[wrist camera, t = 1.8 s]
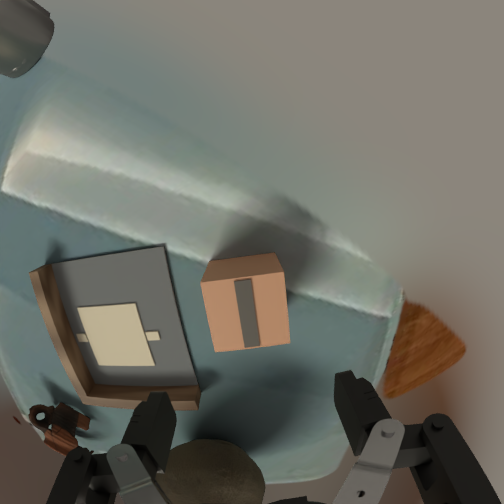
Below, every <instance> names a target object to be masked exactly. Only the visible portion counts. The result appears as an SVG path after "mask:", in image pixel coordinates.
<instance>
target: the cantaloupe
mask: <svg viewBox="0 0 504 504" xmlns="http://www.w3.org/2000/svg"><path fill="white" fill-rule="evenodd" d="M155 479H156V480H157V482H158V483H159V485H160V486H161V488H162V489H163V491H164V492H165V494H166V495H167V497H168V498H169V499H170V501H171V502H172V504H202V503H207V504H262V500H263V496H264V492H265V481H264V478H263V475H262V472H261V470H260V468H259V467H258V466H257V464H256V463H255V462H254V461H253V460H252V459H251V458H250V457H249V456H248V454H247V453H246V452H245V451H244V450H242V449H241V448H240V447H238V446H236V445H234V444H233V443H231V442H227V441H224V440H219V439H216V440H210V439H198V440H193V441H190V442H187V443H184V444H181V445H179V446H176V447H175V448H173V449H171V450H170V453H169V457H168V461H167V466H166V470H165V474H163V473H156V477H155Z"/></svg>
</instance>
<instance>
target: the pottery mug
mask: <svg viewBox="0 0 504 504" xmlns="http://www.w3.org/2000/svg"><path fill="white" fill-rule="evenodd" d="M29 410H30V414H29V419H30V421H31V423H32V424H33V425H34V426H35V427H36V428H38V429H40V430H41V431H43V433H44V435H45V440H44V443H45V444H46V445H47V446H49V447H50V448H52V449H53V450H55V451H57V452H59V453H61V454H63V455H64V456H67V454H68V452H69V451H71V450H72V449H74V448H78V447H80V446H78V441H77V439H76V438H75V431H76V427H80V428H82V429H84V430H88V429H89V423H90V419H89V418H88V417H86V416H84V415H83V414H81V413H79V412H77V411H75V410H74V409H73V408H71V407H69V406H67V405H65V404H63V403H60V404H59V405H58V406H57V407H56V408H54V406H50V407H47V406H44V405H41V404H40V405H35V406H32V407H31V408H30V409H29ZM38 413H45V418H44V419H42V420H37V418H36V415H37V414H38ZM51 424H52V427H51V429H52V430H51V429H48V427H49V425H51ZM81 448H82V447H81ZM85 449H87V448H85ZM87 450H88V449H87ZM88 451H89V450H88ZM93 452H94V451H90V453H91V454H92V453H93Z"/></svg>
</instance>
